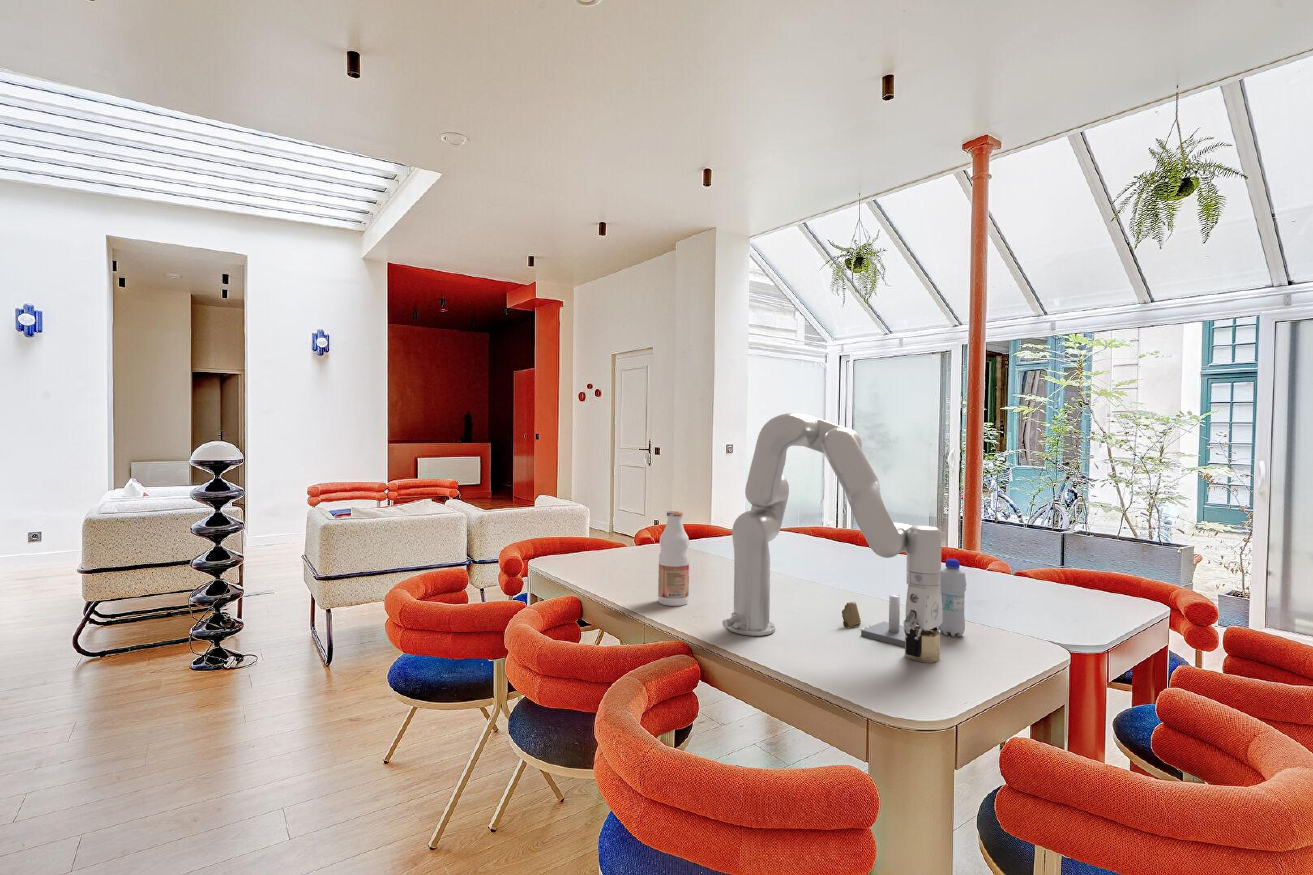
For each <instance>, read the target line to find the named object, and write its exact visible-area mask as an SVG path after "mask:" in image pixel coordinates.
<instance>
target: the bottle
mask: <svg viewBox="0 0 1313 875" xmlns="http://www.w3.org/2000/svg"><path fill="white" fill-rule="evenodd" d="M966 578H967V577H966V573H965V571H963V570H962V569H960V561H959V560H958V559H955V558H948V559H946V561H945V568H943V569H942V568H941V595H942V614H943V621H942V624H941V625H939V626H940V630H939V633H940V634H944V635H945V636H948V635H949V633H950V635H951V637H952V638H953V637H955V636H957V637H961V636H963V635H964V633H965V629H966V621H965V620H966V619H965V618H966V616H965V595H966V591H967V580H966Z"/></svg>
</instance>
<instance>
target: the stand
mask: <svg viewBox="0 0 1313 875" xmlns="http://www.w3.org/2000/svg"><path fill="white" fill-rule="evenodd" d="M900 596H901V595H899V594H898V595H897V594H890V595H889V601H888V602H889V604H888V606H889V607H888V622H887V621H882V622H879V623H876V624H874V625H869V626H870V627H868V628H865V627H864V628H865V629H863V628H861V629H862V630H860V636H862V637H865V638H869V639H872V640H877V641H880V642H884V643H888V644H892V645H895V646H899V647H902V648H905V630H904V629H905V628H904V625H900V620H901V618H900V616H901V615H900V614H901V613H900V612H901V597H900Z"/></svg>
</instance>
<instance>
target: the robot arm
mask: <svg viewBox="0 0 1313 875" xmlns="http://www.w3.org/2000/svg"><path fill="white" fill-rule="evenodd" d="M792 446H796V447H805V448H807V449H810V450H814V451H816V452H819V453H822V454H824V456H825V457H826V460H827V461H828V463H829V466H830V467H831V469H832V470H833V473H834V474H835V476H836V478H837V480H838V482H839V484H840V486H841V487H842V490H843V492H844V493H845V496H846V499H847V503H848V505H849V507H850V509H851V512H852V514H853V516H854V520H855V522H856V524H857V526H858V528H859V530H860V532H861V534H862V535H863V537H864V539H865V540H866V542H867V544H868V546H869V549H871V550H872V551H873V552H874V554H876V555H877V556H879V557H880V558H885V559H889V558H894V557H896V556H898V555H899V554H900V553H906V578H905V579H906V581H905V582H906V585H908V586H907V592H906V600H905V619H904V620H903V626H904V628H905V629H904V630H905V637H906V654H907V655H911V656H915V657H920V648H921V640H919V637H920V634H921V631H922V629H923V630H924V631H928V630H935V631H936V632H938V633H939V634H940V626H939V625H941V624H942V621H943V614H942V595H941V570H942V532H941V530H940V529H939V528H938V527H936V526H932V525H931V526H930V525H923V524H922V525H920V524H919V525H911V524H905V523H901V522H896V521H893V520H892V517H891V516H890V514H889V512H888V511H887V508H886V506H885V505H884V504H885V503H884V501H883V498H882V496H881V494H882V493H881V487H880V482H879V479H878V476H877V475H876V473H875V471H874V469H873V468H872V466H871V464H870V462H869V460H868V458H867V457H866V455H865V454H864V451H863V449H862V439H861V437H860V435H859V433H858V432H856V431H855V430H854V429H852V428H849V427H846V426H842V425H839V424H835V423H832V422H830V421H827V420H824V419H821V418H818V417H815V416H812V415H809V414H804V413H799V412H798V413H797V412H788V413H783V414H779V415H776V416H774V417H772V418H770V419H769V420H768V421H767V422H766V423H765V424H764V425H763V426H762V428H761V430H760V432H759V434H758V435H757V439H756V444H755V447H754V448H755V449H754V453H753V457H752V460H751V463H750V468H749V472H748V476H747V480H746V484H745V489H744V490H745V491H744V493H745V499H746V500H747V502H748V503H749V504H750V505H751V507H750V508H751V509H750V510H749V511H746V512H743V513H741V514H740V515H738V516H737V518H736V519H735V521H734V522H733V526H732V530H731V532H732V533H731V534H732V535H731V536H732V544H733V545H732V546H733V552H734V553H733V556H734V558H733V562H734V563H733V564H734V567H733V571H734V573H733V575H734V576H733V577H734V578H733V612H731V617H730V618H726V619H724V620H722V623H721V624H722V627H723V628H727V629H728V630H729V631H730V632H732V633H735V634H738V635H741V636H742V635H743V636H753V637H756V636H758V637H760V636H761V637H762V636H767V635H771V634H773V633H774V632H775V631H776V625H775V624H774V623H773V622H771V621H770V615H771V613H770V608H771V606H770V605H771V604H770V603H771V602H770V601H771V599H770V598H771V555H770V548H769V542H771V541H772V540H774V539H775V538H776V537H777V536H778V535H779V533H780V530H781V529H782V525H783V520H784V517H785V516H784V515H785V512H786V507H787V504H788V500H789V496H790V495H789V493H790V486H789V483H788V480H787V478H786V477H785V475H783V473H784V469H785V465H786V462H787V461H786V460H787V451H788V449H789V448H790V447H792ZM913 629H914V630H917V631H916V634H915V632H914V630H913Z"/></svg>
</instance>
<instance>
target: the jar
mask: <svg viewBox="0 0 1313 875" xmlns="http://www.w3.org/2000/svg"><path fill="white" fill-rule="evenodd" d="M913 630H914V629H913ZM916 631H917V630H914V632H915V634H916ZM919 640H921V648H920V657H915V656H911V655H907V654H906V637H905V647H904V656H905V657H906V658H908V660H911V661H915V662H919V663H929V664H933V663H937V662H938V661H940V659H941V658H940V656H941V654H940V653H941V633H940V632H939V633H938V632H936V631H935V630H928V631H924V630H923V629H922V631H921V634H920V637H919Z"/></svg>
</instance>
